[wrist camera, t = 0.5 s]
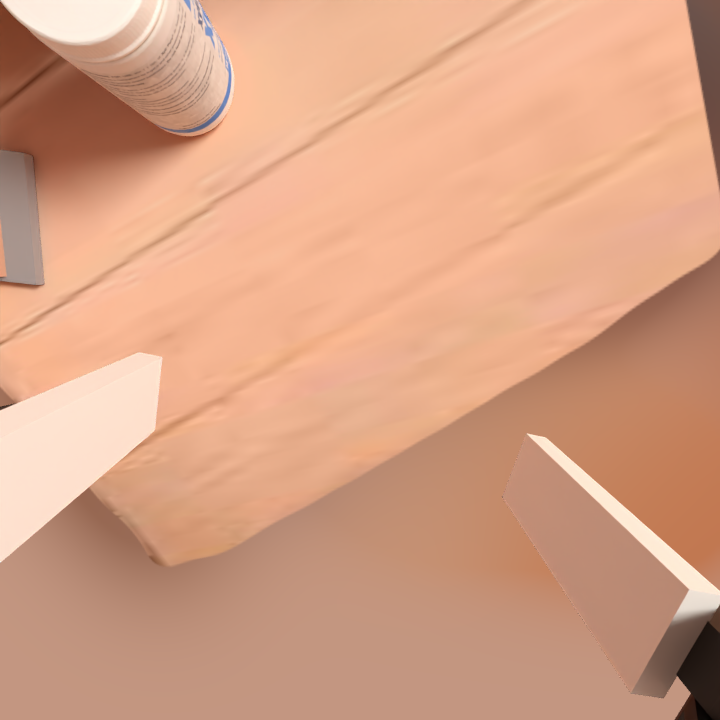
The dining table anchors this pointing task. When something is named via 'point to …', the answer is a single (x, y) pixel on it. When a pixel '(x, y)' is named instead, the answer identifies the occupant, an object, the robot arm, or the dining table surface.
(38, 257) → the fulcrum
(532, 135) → the dining table surface
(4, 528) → the robot arm
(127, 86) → the supplement tub
